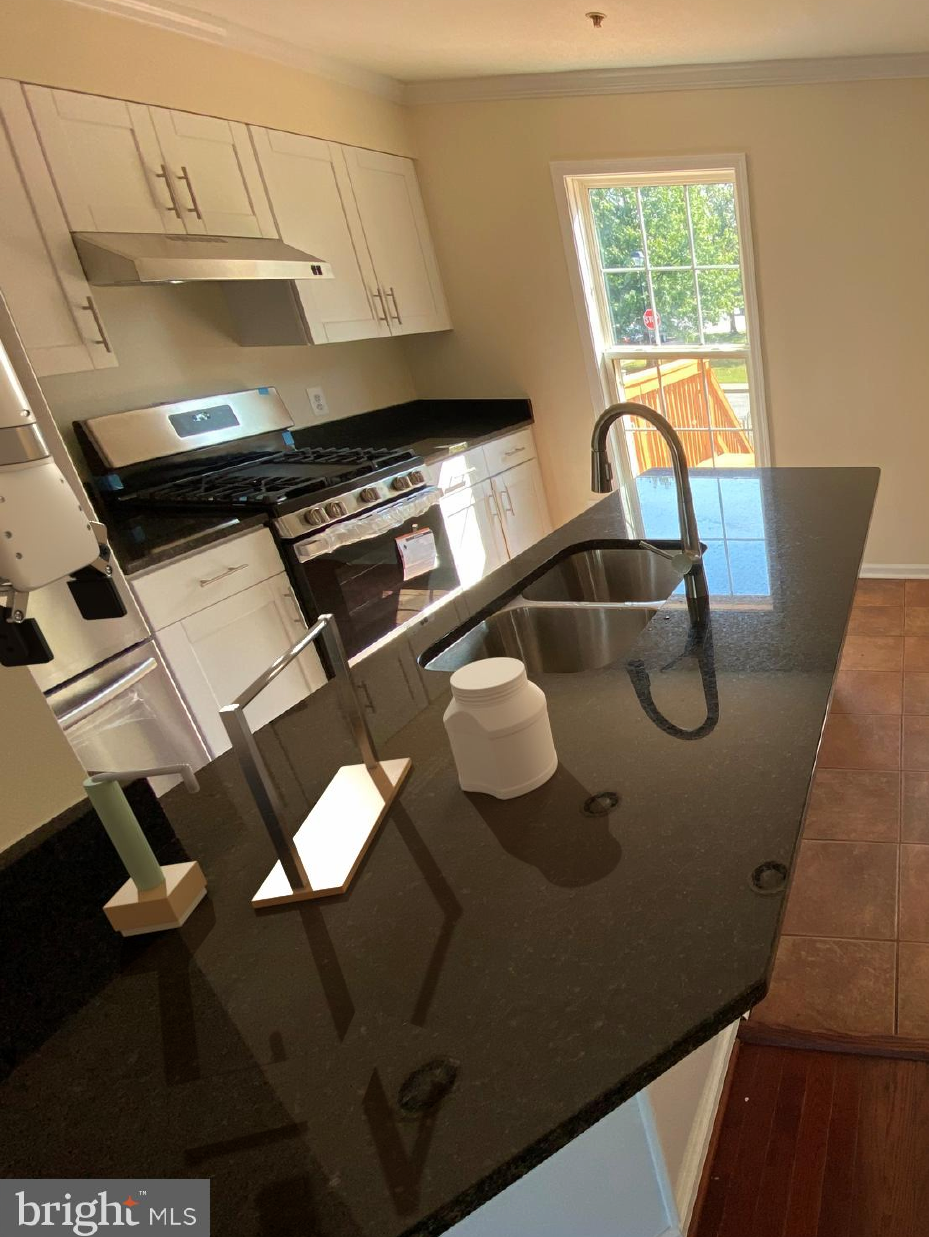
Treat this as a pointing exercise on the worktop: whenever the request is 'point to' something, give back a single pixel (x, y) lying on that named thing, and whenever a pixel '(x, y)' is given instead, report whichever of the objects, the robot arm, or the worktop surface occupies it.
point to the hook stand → (144, 860)
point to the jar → (499, 729)
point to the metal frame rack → (343, 811)
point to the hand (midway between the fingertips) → (70, 639)
